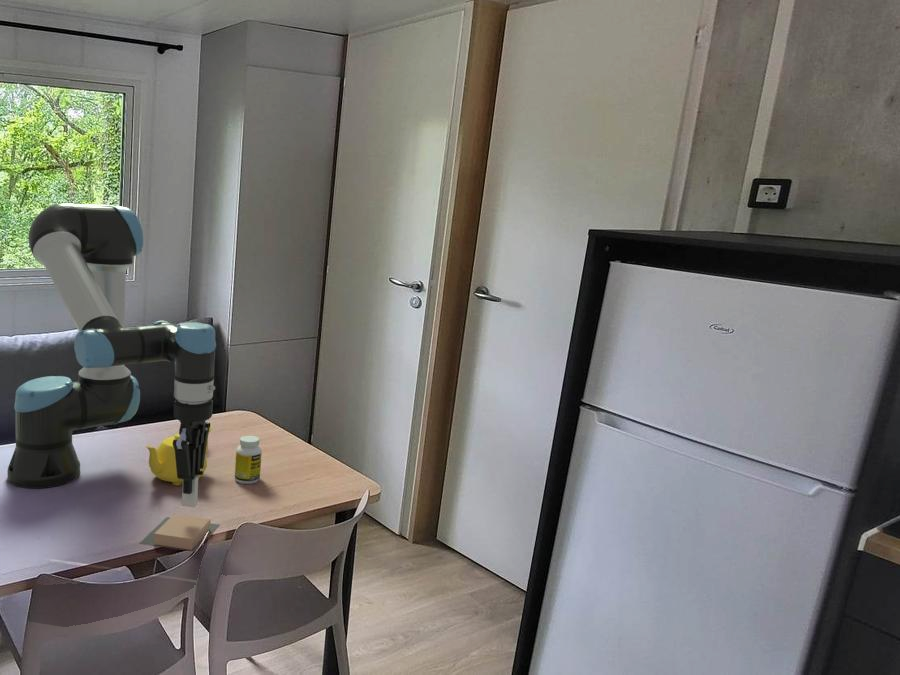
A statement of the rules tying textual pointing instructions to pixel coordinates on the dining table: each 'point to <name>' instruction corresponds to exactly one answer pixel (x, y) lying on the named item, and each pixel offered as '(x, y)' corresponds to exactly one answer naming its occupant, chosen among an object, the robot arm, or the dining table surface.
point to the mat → (150, 541)
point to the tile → (182, 531)
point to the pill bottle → (248, 460)
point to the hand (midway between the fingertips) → (189, 505)
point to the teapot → (168, 461)
